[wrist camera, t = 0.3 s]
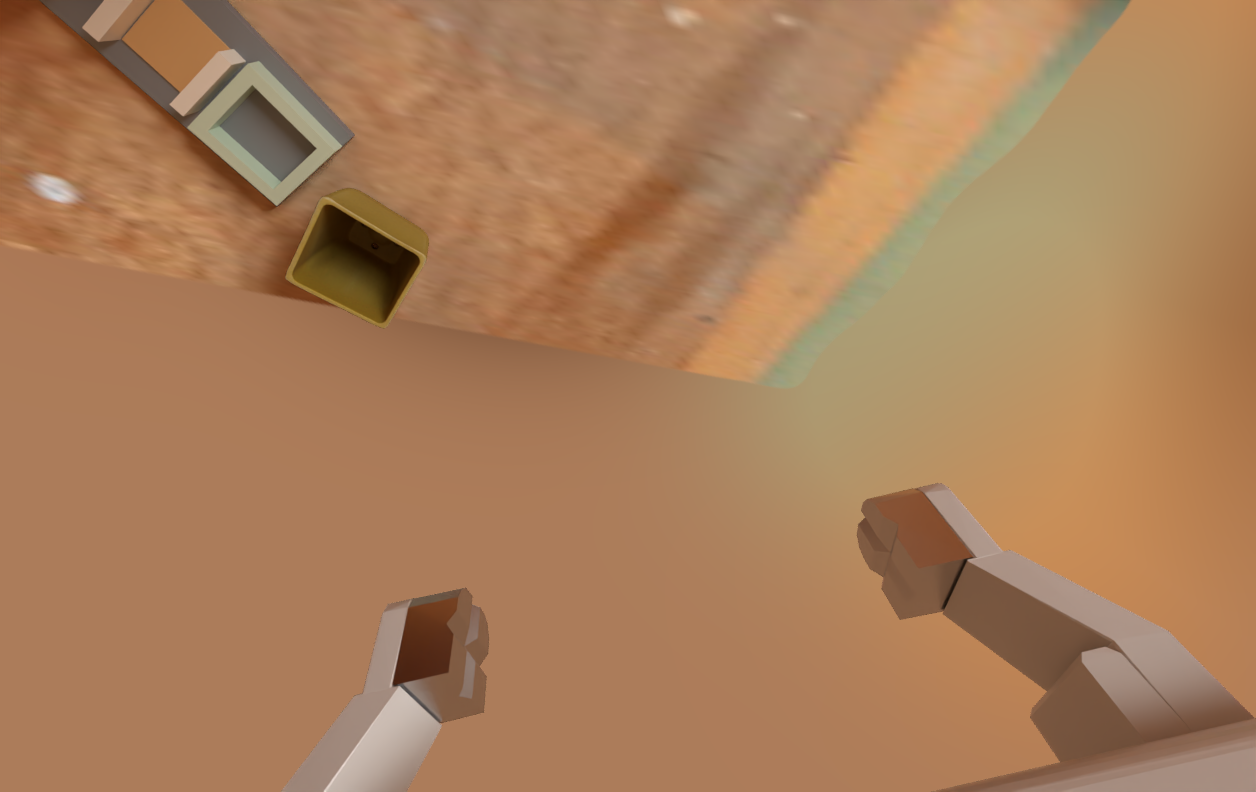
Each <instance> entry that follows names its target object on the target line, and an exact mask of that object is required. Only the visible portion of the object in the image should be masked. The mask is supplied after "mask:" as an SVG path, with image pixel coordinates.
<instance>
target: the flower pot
mask: <svg viewBox="0 0 1256 792" xmlns="http://www.w3.org/2000/svg"><path fill="white" fill-rule="evenodd" d="M363 224H365V225H366V226H364V225H363ZM373 243H375V244H377V245H378V248H373V247H372V244H373ZM395 243H397V244H398V245H396V244H395ZM428 246H429V239H428V236H427V234H426V233H425V232H424V231H423V230H422V229H421V228H419V227H418V226H416V225H415V224H413V223H411V222H410V221H408V220H406V219H405V218H403V217H402V216H400V215H398V214H397V213H395V212H393V211H392V210H390V209H389V208H387V207H385V206H384V205H382V204H381V203H379V202H377V201H376V200H374V199H373V198H371V197H369V196H368V195H366V194H365V193H363V192H361V191H359V190H356V189H352V188H345V189H341V190H339V191H336V192H333V193H331V194H329V195H326V196H324V197H321V198H320V200H319V201H318V204H317V206H316V208H315V211H314V213H313V215H312V217H311V220H310V222H309V224H308V227H307V229H306V231H305V233H304V235H303V237H302V240H301V242H300V244H299V246H298V248H297V251H296V253H295V255H294V257H293V259H292V261H291V263H290V265H289V267H288V270H287V272H286V275H285V279H286V280H287V281H289V282H290V283H292V284H294V285H295V286H297V287H299V288H301V289H303V290H305V291H307V292H309V293H311V294H313V295H315V296H317V297H319V298H321V299H323V300H325V301H327V302H329V303H331V304H333V305H335V306H337V307H339V308H341V309H343V310H345V311H347V312H349V313H351V314H353V315H355V316H357V317H359V318H361V319H363V320H365V321H367V322H369V323H371V324H373V325H375V326H378V327H380V328H383V329H385V328H386V327H387V326H388V325H389V324H390V321H391V320H392V318H393V317H394V315H395V313H396V311H397V310H398V308H399V306H400V304H401V303H402V301H403V299H404V298H405V296H406V294H407V292H408V291H409V289H410V287H411V286H412V284H413V282H414V281H415V279H416V278H417V276H418V274H419V273H420V271H421V270H422V268H423V266H424V264H425V262H426V259H427V253H428Z"/></svg>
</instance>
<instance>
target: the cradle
mask: <svg viewBox="0 0 1256 792" xmlns="http://www.w3.org/2000/svg"><path fill="white" fill-rule="evenodd" d="M152 2H153V0H104V1H103V2H102V3H101V5H100V6H99V7H98V8H97V10H96V11H95V12H94V13H93V15H92V16H91V17H90V18H89V20H88V21H87V22H86V23H85V24H84V26H83V27H82V28H83V29H84V30H85V31H86V32H88V33H89V34H90V35H91V36H92V37H93V38H94V39H96V40H97V41H98V42H102V41H112V40H120V39H121V38H122V37H123V36H124V35H125V34H126V32H127V31H128V30H129V29H130V28H131V26H132V25H133V24H134V23H135V22H136V21H137V19H138V18H139V17H140V16H141V15H142V13H143V12H144V11H145V10H146V9H147V7H148V6H149V5H150V4H151V3H152ZM122 40H123V41H124V42H125V43H126V44H127V45H128V46H130V47H131V48H132V49H133V50H134V51H135V52H136V53H137V54H138V55H140V56H141V57H142V58H143V59H144V60H145V61H146V62H147V63H148V64H150V65H151V66H152V67H153V68H154V69H155V70H156V71H157V72H158V73H160V74H161V75H162V76H163V77H164V78H165V79H166V80H167V81H168V82H169V83H171V84H172V85H173V86H174V87H175V88H176V89H177V90H178V91H179V92H180V94H179V95H178V96H177V97H176V98H175V99H174V100H173V101H172V102H171V103H170V104H169V105H171V106H172V107H173V108H174V109H175V110H176V111H177V112H179V113H180V114H181V115H182V116H186V115H189V114H192V113H195V112H198V111H200V110H201V109H202V108H203V107H204V106H205V105H206V104H207V103H208V101H209V100H210V99H211V98H212V97H213V96H214V95H215V94H216V93H217V92H218V91H219V90H220V89H221V88H222V87H223V86H224V85H225V84H226V82H227V81H228V80H229V79H230V78H231V77H232V76H233V75H234V74H235V73H236V72H237V71H238V70H239V69H240V68H241V67H242V66H243V65H244V63H245V62H246V61H245V60H244V59H243V58H242V57H241V56H240V55H239V54H238V53H237V52H236V51H235V50H234V49H230V48H229V47H228V46H227V45H226V44H225V43H224V42H223V41H222V40H221V39H220V38H219V37H218V36H217V35H216V34H215V33H214V32H213V31H212V30H211V29H210V28H209V27H208V26H207V25H206V24H205V23H204V22H203V21H202V20H201V19H200V18H199V17H198V16H197V15H196V14H195V13H194V12H193V11H192V10H191V9H190V8H189V7H188V6H187V5H186V4H185V3H184V2H183V1H182V0H154V2H153V3H152V4H151V5H150V6H149V8H148V9H147V10H146V11H145V12H144V14H143V15H142V16H141V17H140V18H139V19H138V21H137V22H136V23H135V24H134V25H133V27H132V28H131V29H130V30H129V31H128V32H127V34H126V35H125V36H124V37H123V38H122Z"/></svg>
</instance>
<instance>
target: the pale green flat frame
mask: <svg viewBox="0 0 1256 792" xmlns="http://www.w3.org/2000/svg"><path fill="white" fill-rule="evenodd" d="M255 89H257V90H258V91H259V92H260V93H261V94H262V95H263V96H264V97H265V98H266V99H267V100H268V101H269V102H270V103H271V104H272V105H273V106H274V107H275V108H276V109H277V110H278V111H279V112H280V113H281V114H282V115H283V116H284V117H285V118H286V119H287V120H288V121H289V122H290V123H291V124H292V125H293V126H294V127H295V128H296V129H297V130H298V131H299V132H300V133H301V134H303V135H304V136H305V137H306V138H307V139H308V140H309V141H310V142H311V143H312V144H313V145H314V146H315V147H316V148H317V149H316V150H315V151H314V152H313V153H312V154H311V155H310V156H308V157H307V158H306V159H305V160H304V161H303V162H302V163H301V164H300V165H299V166H298V167H297V168H296V169H295V170H294V171H293V172H291V173H290V174H289V175H288V176H287V177H286V178H285V179H284V180H283V181H282V182H281V181H280V180H278V179H277V178H276V177H275V176H274V175H273V174H272V173H271V172H270V171H269V170H267V169H266V168H265V167H264V166H263V165H262V164H261V163H260V162H259V161H257V160H256V159H255V158H254V157H253V156H252V155H251V154H250V153H249V152H248V151H246V150H245V149H244V148H243V147H242V146H241V145H240V144H239V143H238V142H236V141H235V140H234V139H233V138H232V137H231V136H230V135H229V134H228V133H226V132H225V131H224V130H223V129H222V128H221V127H220V125H221V124H222V123H223V122H224V121H225V120H226V119H227V118H228V117H229V116H230V115H231V114H232V113H233V112H234V111H235V110H236V109H237V108H238V107H239V106H240V105H241V104H242V103H243V101H244V100H245V99H246V98H247V97H248V96H249V95H250V94H251V93H252V92H253V91H254V90H255ZM187 128H188V129H189V130H190V131H191V132H192V133H194V134H195V135H196V136H197V137H198V138H199V139H201V140H202V141H203V142H204V143H205V144H206V145H207V146H209V147H210V148H211V149H212V150H213V151H214V152H215V153H217V154H218V155H219V156H220V157H221V158H222V159H223V160H225V161H226V162H227V163H228V164H229V165H230V166H232V167H233V168H234V169H235V170H236V171H237V172H238V173H240V174H241V175H242V176H243V177H244V178H245V179H246V180H248V181H249V182H250V183H251V184H252V185H253V186H254V187H256V188H257V189H258V190H259V191H260V192H261V193H263V194H264V195H265V196H266V197H267V198H268V199H269V200H271V201H272V202H273V203H274V204H275V205H276V206H277V205H278V204H280V203H281V202H282V201H283V200H285V199H286V198H287V197H288V196H289V195H290V194H291V193H292V192H293V191H295V190H296V189H297V188H298V187H299V186H300V185H301V184H302V183H303V182H304V181H305V180H306V179H308V178H309V177H310V176H311V175H312V174H313V173H314V172H315V171H316V170H317V169H318V168H319V167H321V166H322V165H323V164H324V163H325V162H326V161H327V160H328V159H329V158H330V157H331V156H332V155H334V154H335V153H336V152H337V151H338V150H339V149H340V148H341V147H342V145H341V144H340V143H339V142H338V141H337V140H336V139H335V138H334V137H333V136H332V135H331V134H330V133H329V132H328V131H327V130H326V129H325V128H324V127H323V126H322V125H321V124H320V123H319V122H318V121H317V120H316V119H315V118H314V117H313V116H312V115H311V114H310V113H309V112H308V111H307V110H306V109H305V108H304V107H303V106H302V105H301V104H300V103H299V102H298V100H297V99H296V98H295V97H294V96H293V95H292V94H291V93H290V92H289V91H288V90H287V89H286V88H285V87H284V86H283V85H282V84H281V83H280V82H279V81H278V80H277V79H276V78H275V77H274V76H273V75H272V74H271V73H270V72H269V71H268V70H267V69H266V68H265V67H264V66H263V65H262V64H261V63H260V62H259V61H257V62H253V63H248V64H247V65H246V66H245V67H244V68H243V69H242V70H241V71H240V72H239V73H238V74H237V75H236V77H235V78H234V79H233V80H232V81H231V82H230V83H229V84H228V85H227V86H226V87H225V88H224V89H223V90H222V91H221V92H220V93H219V94H218V95H217V97H216V98H215V99H214V100H213V101H212V102H211V103H210V104H209V105H208V106H207V107H206V108H205V109H204V110H203V111H202V112H201V113H200V114H199V115H198V117H197V118H196V119H195V120H194V121H193V122H192V123H191V124H190V125H189V126H188V127H187Z"/></svg>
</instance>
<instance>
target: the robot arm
mask: <svg viewBox="0 0 1256 792" xmlns="http://www.w3.org/2000/svg"><path fill="white" fill-rule="evenodd" d="M861 511H862V513H863V514H864V516H865V518H864V519H863V520H862V521H861V522H860V523H859V524H858V531H857V538H858V543H859V548H860V550H861V553H862V555H863V557H864V559H865V561H866V563H867V564H868V566H869V568H870V569H871V570H873V571H874V572H876V573H878V574H879V575H881V576H882V577H883V582H882V590H883V592H884V594H885V595H886V597H887V599H888V600H889V602H890V604H891V605H892V607H893V609H894V611H895V612H896V614H897V615H898V617H899V619H900V620H901V619H906V618H912V617H916V616H921V615H927V614H932V613H937V612H942V611H944V612H943V614H944V615H945V616H946V617H948V618H949V619H950V620H952V621H953V622H954V623H956V624H957V625H958V626H960V627H961V628H962V629H964V630H965V631H966V632H968V633H969V634H971V635H972V636H973V637H974V638H976V639H977V640H979V641H980V642H981V643H983V644H984V645H985V646H987V647H988V648H989V649H991V650H992V651H993V652H995V653H996V654H997V655H999V656H1000V657H1002V658H1003V659H1004V660H1006V661H1007V662H1008V663H1010V664H1011V665H1012V666H1014V667H1015V668H1016V669H1018V670H1019V671H1020V672H1022V673H1023V674H1024V675H1026V676H1027V677H1028V678H1030V679H1031V680H1033V681H1034V682H1035V683H1037V684H1038V685H1039V686H1041V687H1042V688H1043V689H1045V690H1046V691H1047V692H1046V693H1045V695H1044V696H1043V697H1042V698H1041V699H1040V700H1039V701H1038V703H1037V704H1036V705H1035V706H1034V707H1033V708H1032V712H1031V716H1030V718H1031V719H1032V721H1033V722H1034V724H1035V725H1036V727H1037V728H1038V730H1039V731H1040V732H1041V734H1042V735H1043V737H1044V739H1045V740H1046V742H1047V743H1048V745H1049V746H1050V748H1051V749H1052V751H1053V752H1054V753H1055V755H1056V756H1057V758H1058V759H1059V761H1060V763H1055V764H1051V765H1047V766H1042V767H1038V768H1034V769H1029V770H1025V771H1021V772H1016V773H1012V774H1007V775H1003V776H998V777H994V778H990V779H985V780H981V781H976V782H972V783H968V784H963V785H959V786H955V787H950V788H946V789H942V790H937V791H933V792H1256V718H1254V717H1253V716H1252V715H1251V714H1250V713H1249V712H1248V711H1247V710H1246V709H1245V708H1244V707H1243V706H1242V705H1241V704H1240V703H1239V702H1238V701H1237V700H1236V699H1235V698H1234V697H1233V696H1232V695H1231V694H1230V693H1229V692H1228V691H1227V690H1226V689H1225V688H1224V687H1223V686H1222V685H1221V684H1220V683H1219V682H1218V681H1217V680H1216V679H1215V678H1214V677H1213V676H1212V675H1211V674H1210V673H1209V672H1208V671H1207V670H1206V669H1205V668H1204V667H1203V666H1202V665H1201V664H1200V663H1199V662H1198V661H1197V660H1196V659H1195V658H1194V657H1193V656H1192V655H1191V654H1190V653H1189V652H1188V651H1187V650H1186V649H1185V648H1184V647H1183V646H1182V645H1181V644H1180V643H1179V641H1178V640H1177V639H1176V638H1175V637H1173V636H1172V634H1171V633H1169V631H1167V630H1165V629H1163V628H1161V627H1159V626H1157V625H1155V624H1153V623H1151V622H1150V621H1148V620H1146V619H1144V618H1142V617H1140V616H1138V615H1136V614H1134V613H1132V612H1130V611H1128V610H1126V609H1124V608H1122V607H1120V606H1118V605H1117V604H1115V603H1113V602H1111V601H1109V600H1107V599H1105V598H1103V597H1101V596H1099V595H1097V594H1095V593H1093V592H1091V591H1089V590H1087V589H1085V588H1083V587H1081V586H1079V585H1078V584H1076V583H1074V582H1072V581H1070V580H1068V579H1066V578H1064V577H1062V576H1060V575H1058V574H1056V573H1054V572H1052V571H1050V570H1048V569H1046V568H1044V567H1043V566H1040V565H1039V564H1037V563H1035V562H1033V561H1031V560H1029V559H1027V558H1025V557H1023V556H1021V555H1019V554H1017V553H1015V552H1013V551H1011V550H1009V551H1002V550H1001V549H1000V548H999V546H998V545H997V544H996V543H995V542H994V541H993V539H992V538H991V537H990V536H989V535H988V533H987V532H986V531H985V530H984V529H983V528H982V527H981V525H980V524H979V523H978V522H977V521H976V520H975V518H974V517H973V516H972V515H971V514H970V512H969V511H968V510H967V509H966V508H965V506H964V505H963V504H962V503H961V502H960V501H959V499H958V498H956V496H955V495H954V494H953V493H952V491H951V490H950V489H949V488H948V487H947V486H945V485H943V484H942V483H940V484H939V483H937V484H932V485H928V486H923V487H919V488H915V489H913V488H912V489H908V490H903V491H899V492H895V493H892V494H887V495H883V496H878V497H874V498H870V499H867V500H866V501H864V502H863V505H862V509H861ZM488 647H489V634H488V625H487V621H486V618H485V615H484V613H483V611H482V610H481V608H480V607H477V606H475V605H472V595H471V594H470V593H469V591H468V590H467V588H462V589H458V590H453V591H448V592H444V593H439V594H434V595H430V596H425V597H420V598H413V599H409V600H405V601H401V602H396V603H391V604H388V605H387V607H386V609H385V610H384V612H383V614H382V617H381V621H380V625H379V629H378V633H377V637H376V641H375V645H374V649H373V653H372V657H371V661H370V665H369V669H368V673H367V677H366V681H365V685H364V690H363V693H362V694H358V695H355V696H354V697H353V698H352V700H351V701H350V702H349V703H348V705H347V706H346V707H345V709H344V710H343V711H342V713H341V714H340V715H339V717H338V718H337V719H336V721H335V722H334V723H333V724H332V726H331V727H330V728H329V730H328V731H327V732H326V734H325V735H324V736H323V738H322V739H321V740H320V741H319V743H318V744H317V745H316V747H315V748H314V749H313V751H312V752H311V753H310V754H309V756H308V757H307V759H306V760H305V761H304V762H303V764H302V765H301V766H300V767H299V769H298V770H297V771H296V773H295V774H294V775H293V777H292V778H291V779H290V781H289V782H288V783H287V784H286V786H285V787H284V789H283V790H282V791H281V792H407V790H408V788H409V786H410V784H411V782H412V781H413V779H414V777H415V775H416V773H417V771H418V770H419V768H420V766H421V764H422V762H423V760H424V758H425V756H426V755H427V753H428V751H429V749H430V747H431V745H432V743H433V741H434V740H435V738H436V736H437V734H438V732H439V730H440V728H441V724H440V723H444V722H447V721H452V720H456V719H460V718H463V717H467V716H471V715H476V714H479V713H483V712H484V704H485V690H486V675H485V673H484V672H483V671H482V669H481V668H480V665H481V664H482V662H483V660H484V659H485V657H486V656H487V654H488Z"/></svg>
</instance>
